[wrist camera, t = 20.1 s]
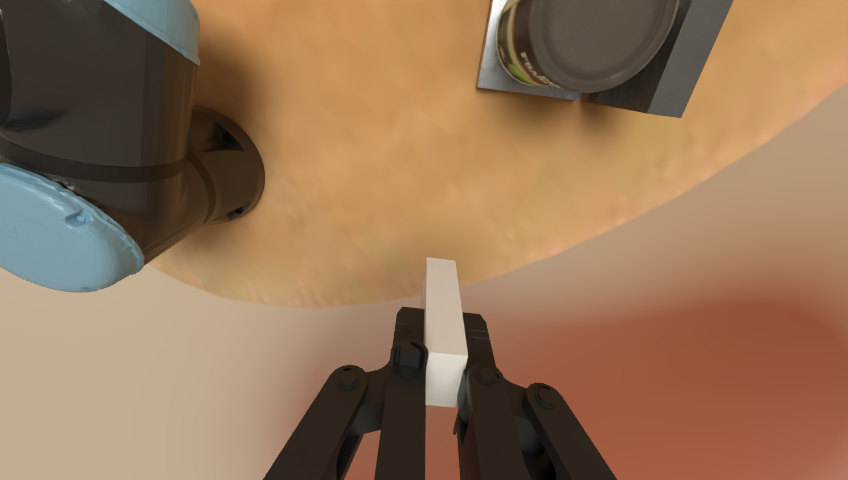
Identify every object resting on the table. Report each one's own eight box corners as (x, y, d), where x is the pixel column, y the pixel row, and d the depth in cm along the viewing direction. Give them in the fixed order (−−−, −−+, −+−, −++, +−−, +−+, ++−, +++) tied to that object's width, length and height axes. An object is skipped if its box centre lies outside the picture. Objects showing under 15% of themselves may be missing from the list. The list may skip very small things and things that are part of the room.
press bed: (475, 86, 40) (496, 93, 28) (497, -39, 35) (535, -101, 22) (604, 103, 41) (680, 118, 28) (645, -17, 35) (762, -65, 23)
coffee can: (557, 101, 39) (618, 115, 26) (478, 62, 37) (503, 57, 25) (612, 2, 35) (716, -38, 22) (526, -47, 33) (586, -120, 20)
